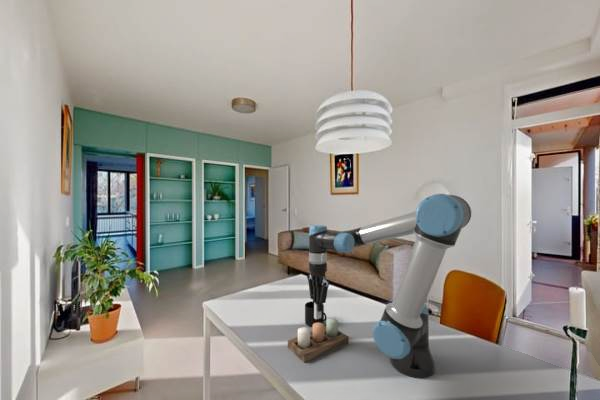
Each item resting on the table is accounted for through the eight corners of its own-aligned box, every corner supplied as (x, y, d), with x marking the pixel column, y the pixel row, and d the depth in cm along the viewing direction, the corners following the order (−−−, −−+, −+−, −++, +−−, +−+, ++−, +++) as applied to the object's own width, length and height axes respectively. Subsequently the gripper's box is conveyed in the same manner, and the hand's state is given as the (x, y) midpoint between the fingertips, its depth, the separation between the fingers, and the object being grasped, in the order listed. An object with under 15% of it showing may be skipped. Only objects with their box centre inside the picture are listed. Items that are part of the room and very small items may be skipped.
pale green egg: (340, 335, 110) (340, 321, 110) (331, 338, 107) (331, 324, 107) (332, 330, 114) (332, 317, 114) (324, 333, 111) (324, 319, 111)
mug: (320, 331, 118) (320, 311, 118) (301, 323, 126) (301, 305, 126) (331, 324, 125) (331, 305, 126) (312, 317, 133) (312, 299, 133)
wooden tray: (348, 343, 108) (348, 336, 108) (304, 362, 95) (304, 354, 95) (330, 331, 118) (330, 325, 118) (287, 347, 105) (287, 340, 105)
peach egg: (327, 340, 106) (326, 326, 106) (317, 344, 103) (317, 329, 103) (319, 335, 110) (319, 321, 110) (310, 338, 107) (310, 324, 107)
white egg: (312, 346, 102) (312, 331, 102) (302, 350, 99) (302, 334, 99) (305, 340, 106) (305, 326, 106) (295, 344, 103) (295, 329, 103)
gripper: (334, 264, 104) (334, 321, 103) (315, 258, 114) (315, 310, 114) (320, 266, 99) (320, 326, 99) (302, 260, 110) (301, 314, 110)
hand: (317, 317), depth 107 cm, fingers closed
